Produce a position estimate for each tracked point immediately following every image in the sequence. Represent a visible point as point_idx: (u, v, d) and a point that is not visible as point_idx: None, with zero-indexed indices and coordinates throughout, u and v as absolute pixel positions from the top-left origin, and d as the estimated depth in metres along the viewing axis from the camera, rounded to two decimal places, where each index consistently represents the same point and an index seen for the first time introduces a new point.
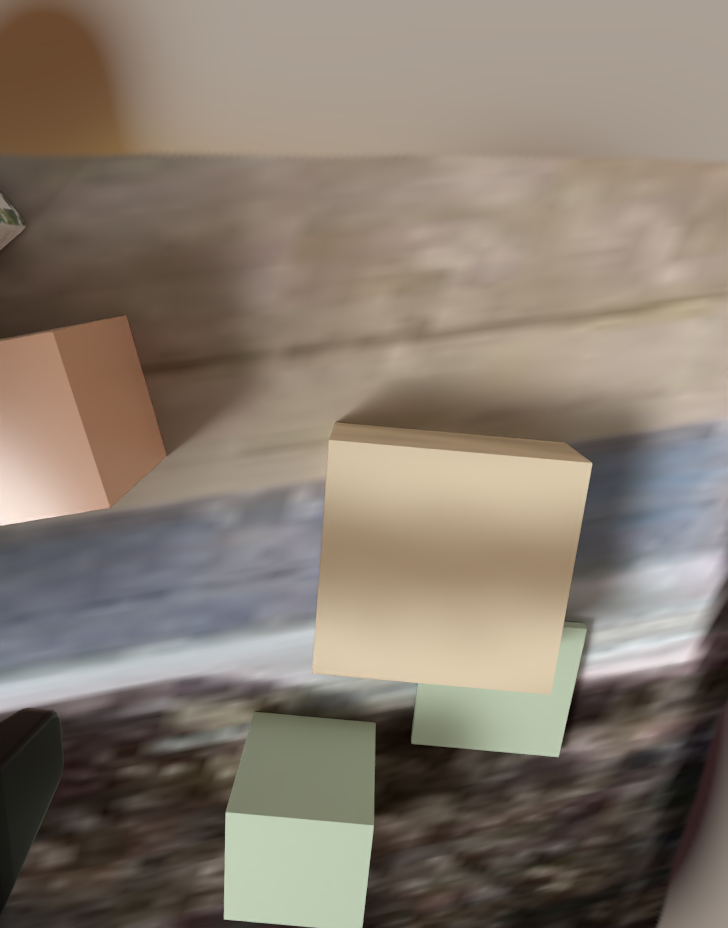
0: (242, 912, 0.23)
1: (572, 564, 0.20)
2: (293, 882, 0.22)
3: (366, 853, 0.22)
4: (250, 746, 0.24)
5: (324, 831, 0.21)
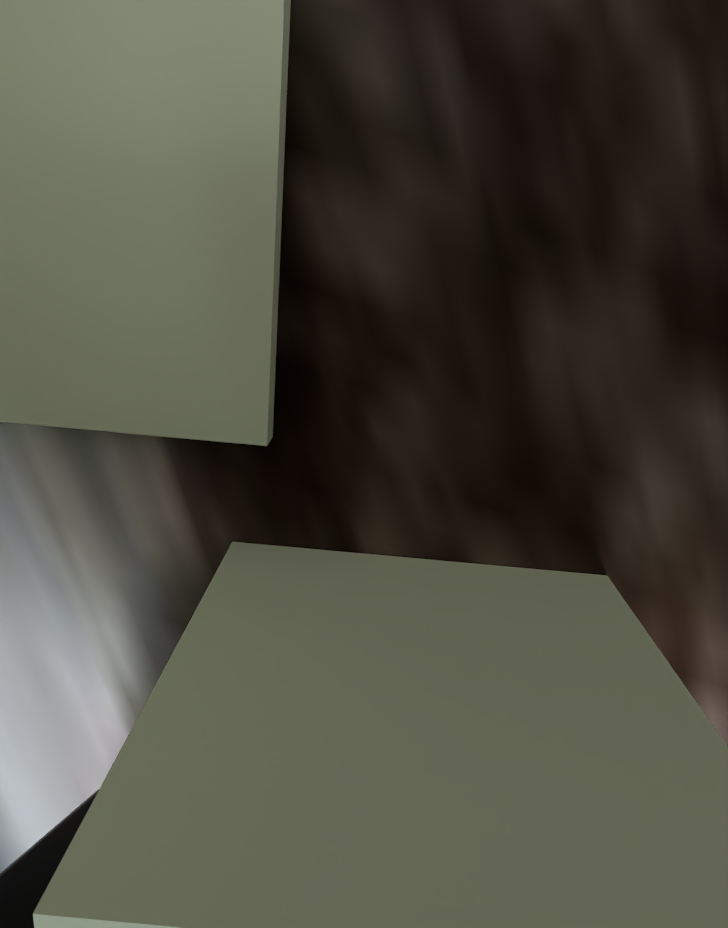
0: None
1: None
2: None
3: None
4: None
5: None
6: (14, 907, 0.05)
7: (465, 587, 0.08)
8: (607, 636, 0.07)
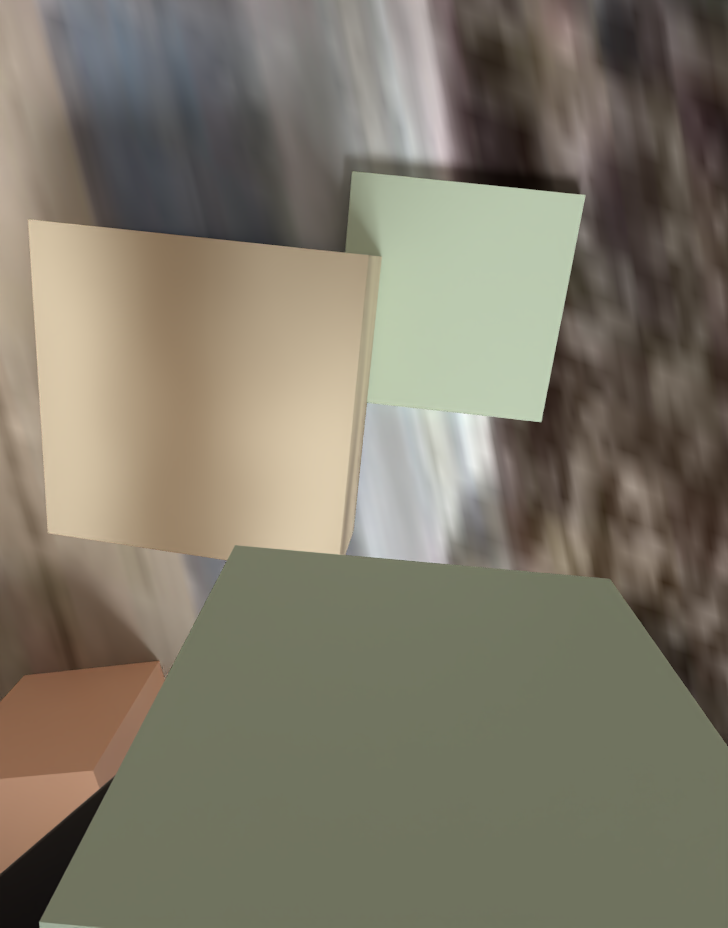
0: None
1: (163, 236, 0.14)
2: None
3: None
4: None
5: None
6: (14, 907, 0.05)
7: (468, 591, 0.08)
8: (610, 640, 0.07)
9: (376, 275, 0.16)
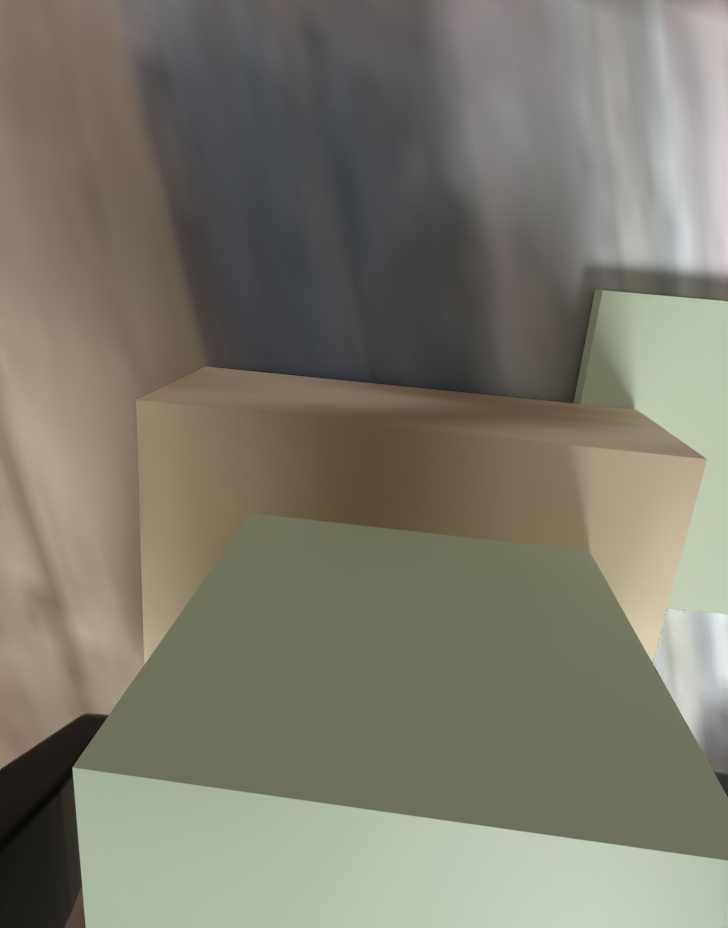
0: None
1: (362, 429, 0.09)
2: None
3: (235, 803, 0.05)
4: None
5: None
6: None
7: (455, 556, 0.09)
8: (578, 599, 0.08)
9: None
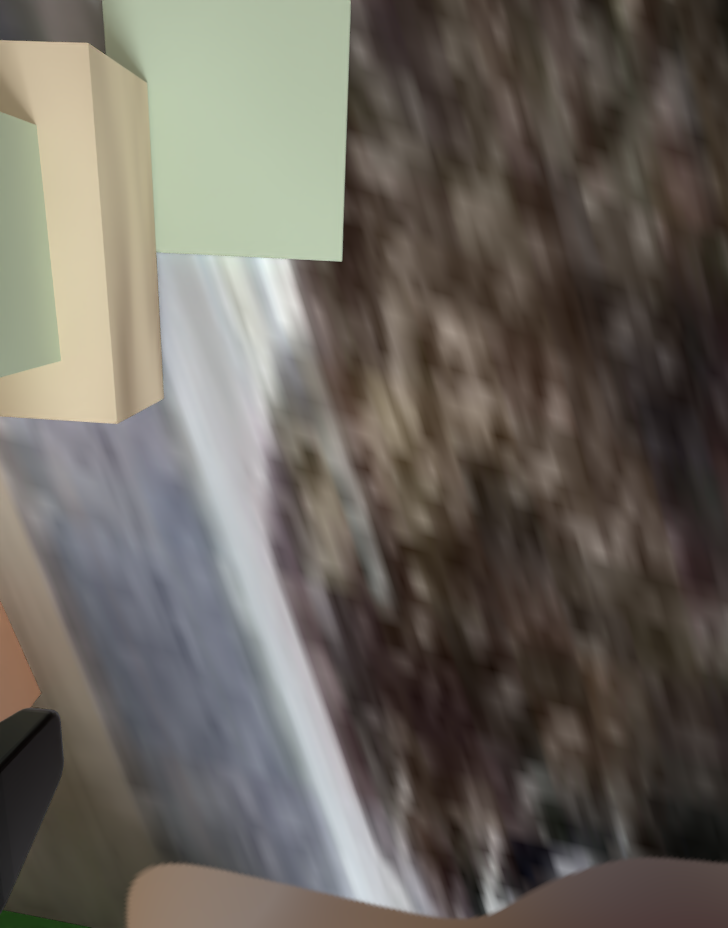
0: None
1: None
2: None
3: None
4: None
5: None
6: None
7: None
8: None
9: (132, 94, 0.15)
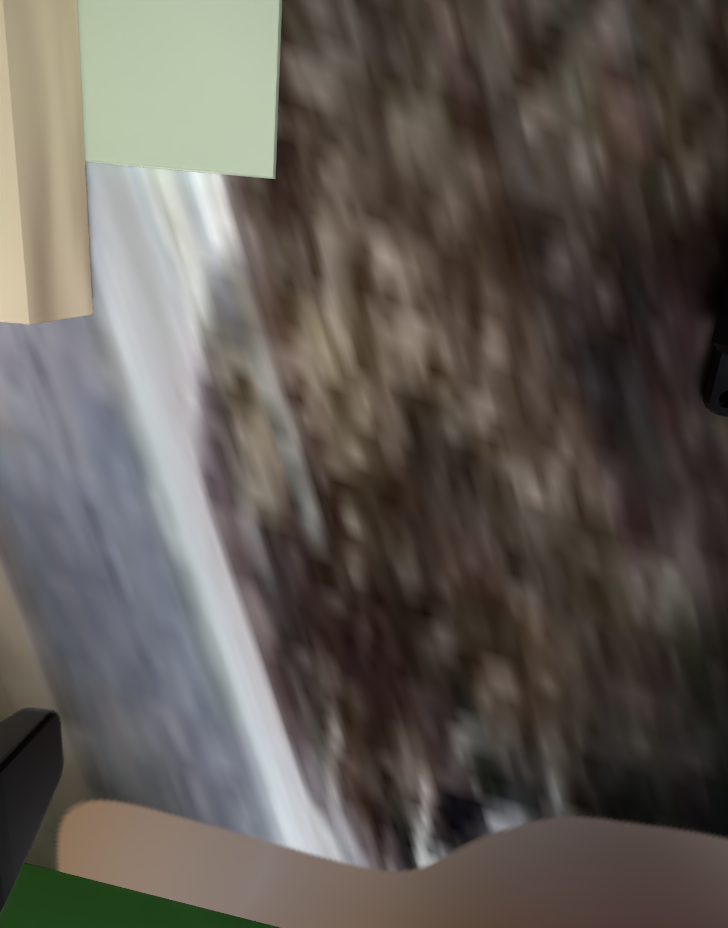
0: None
1: None
2: None
3: None
4: None
5: None
6: None
7: None
8: None
9: None
